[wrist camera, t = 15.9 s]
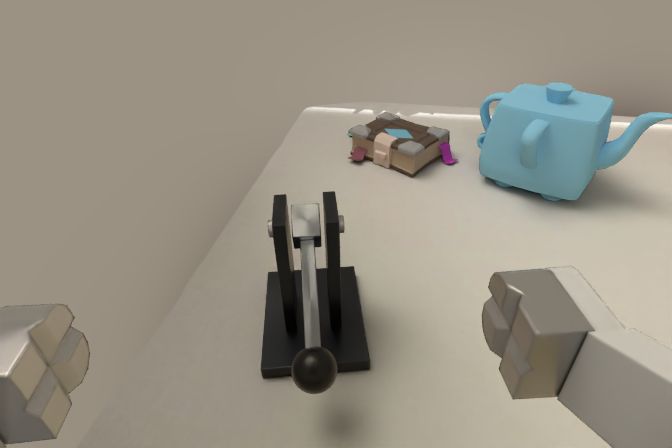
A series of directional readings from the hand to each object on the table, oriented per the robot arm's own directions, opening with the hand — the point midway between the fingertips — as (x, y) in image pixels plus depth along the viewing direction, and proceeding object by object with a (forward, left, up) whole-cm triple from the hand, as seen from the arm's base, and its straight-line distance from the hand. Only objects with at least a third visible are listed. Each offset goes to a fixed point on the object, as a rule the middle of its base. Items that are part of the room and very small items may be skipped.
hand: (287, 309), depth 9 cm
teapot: (+39, +40, -25) cm, 61 cm away
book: (+20, +54, -25) cm, 63 cm away
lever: (+2, +18, -18) cm, 26 cm away
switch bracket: (+3, +22, -25) cm, 33 cm away
